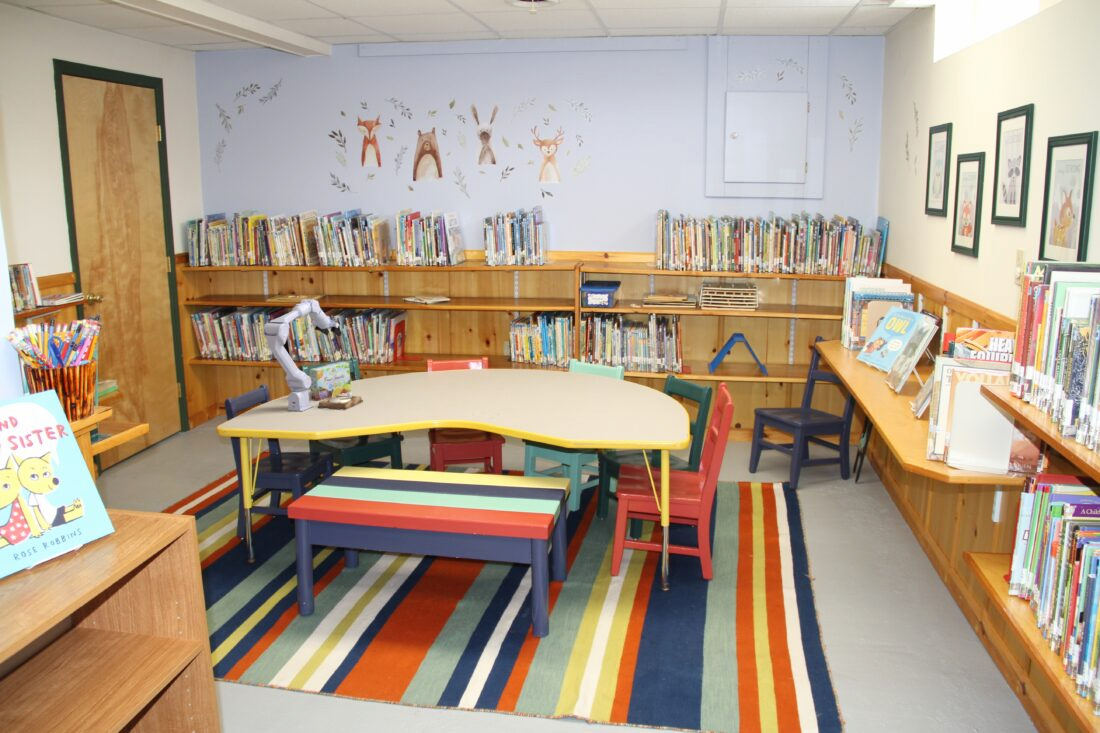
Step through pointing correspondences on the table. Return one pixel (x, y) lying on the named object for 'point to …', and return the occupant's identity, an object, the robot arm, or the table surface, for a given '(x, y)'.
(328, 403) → the dial board
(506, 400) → the table surface
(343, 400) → the dial
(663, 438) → the table surface
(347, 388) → the snack box
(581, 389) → the table surface
